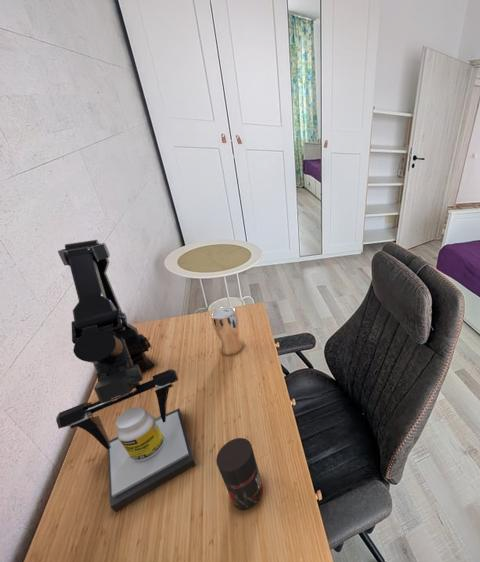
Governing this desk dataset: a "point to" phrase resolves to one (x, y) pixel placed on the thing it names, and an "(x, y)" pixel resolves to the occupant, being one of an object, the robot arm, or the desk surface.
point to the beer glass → (227, 329)
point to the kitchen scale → (149, 463)
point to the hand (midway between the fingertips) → (138, 434)
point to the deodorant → (240, 473)
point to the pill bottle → (139, 433)
